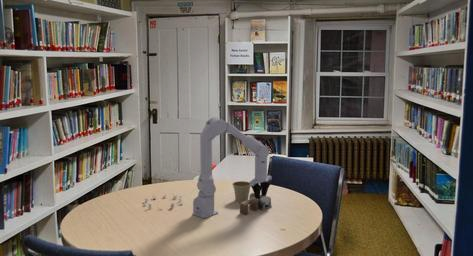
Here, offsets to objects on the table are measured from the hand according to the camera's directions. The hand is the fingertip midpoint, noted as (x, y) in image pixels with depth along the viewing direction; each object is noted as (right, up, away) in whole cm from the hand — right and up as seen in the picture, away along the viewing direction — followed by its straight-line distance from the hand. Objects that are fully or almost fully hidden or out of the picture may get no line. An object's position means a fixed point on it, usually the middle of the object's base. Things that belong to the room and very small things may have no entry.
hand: (260, 197), depth 208 cm
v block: (0, -5, +1) cm, 5 cm away
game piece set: (-47, -5, +6) cm, 48 cm away
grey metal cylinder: (0, -1, 0) cm, 1 cm away
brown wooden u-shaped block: (-6, -6, -6) cm, 10 cm away
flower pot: (-9, -3, +10) cm, 14 cm away
